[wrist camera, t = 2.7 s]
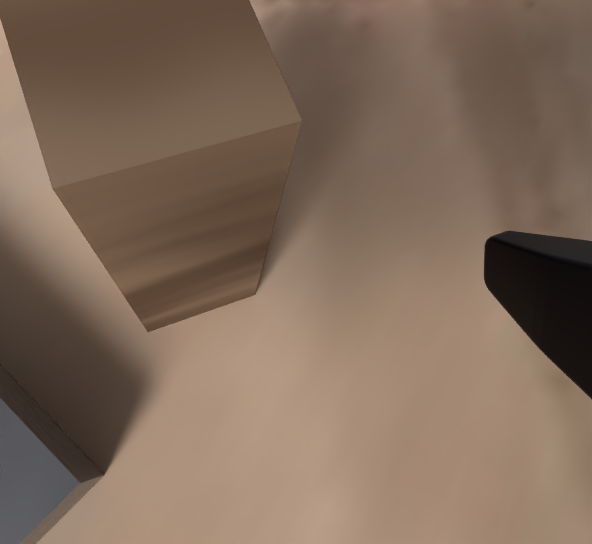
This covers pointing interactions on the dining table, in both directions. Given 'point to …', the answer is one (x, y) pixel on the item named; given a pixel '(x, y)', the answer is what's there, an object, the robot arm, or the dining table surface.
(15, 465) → the hub block
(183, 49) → the keyed plug
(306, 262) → the dining table surface
